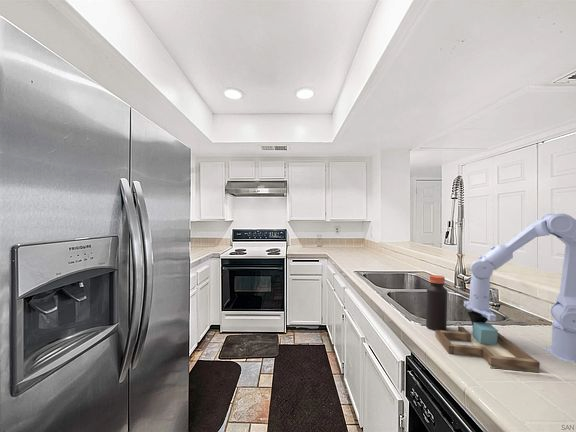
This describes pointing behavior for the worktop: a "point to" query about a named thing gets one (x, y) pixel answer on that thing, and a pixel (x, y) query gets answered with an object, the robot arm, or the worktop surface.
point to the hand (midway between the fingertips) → (477, 333)
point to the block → (485, 333)
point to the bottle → (436, 304)
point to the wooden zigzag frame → (488, 350)
